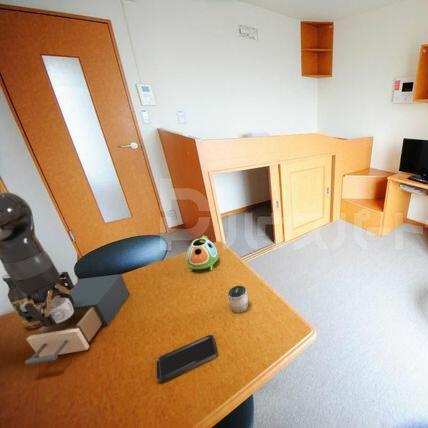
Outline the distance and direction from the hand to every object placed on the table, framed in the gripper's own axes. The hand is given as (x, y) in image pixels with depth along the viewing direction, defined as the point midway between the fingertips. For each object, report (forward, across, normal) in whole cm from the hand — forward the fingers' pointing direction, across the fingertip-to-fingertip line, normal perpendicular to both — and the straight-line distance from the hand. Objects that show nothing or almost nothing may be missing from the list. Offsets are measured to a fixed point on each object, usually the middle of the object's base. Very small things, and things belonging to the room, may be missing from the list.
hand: (60, 314), depth 69 cm
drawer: (+10, +1, 0) cm, 10 cm away
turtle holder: (+11, -34, +30) cm, 47 cm away
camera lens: (+11, -4, +48) cm, 49 cm away
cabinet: (+11, -12, 0) cm, 16 cm away
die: (+1, 0, 0) cm, 1 cm away
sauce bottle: (+11, -10, -16) cm, 22 cm away
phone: (+11, +14, +35) cm, 39 cm away
